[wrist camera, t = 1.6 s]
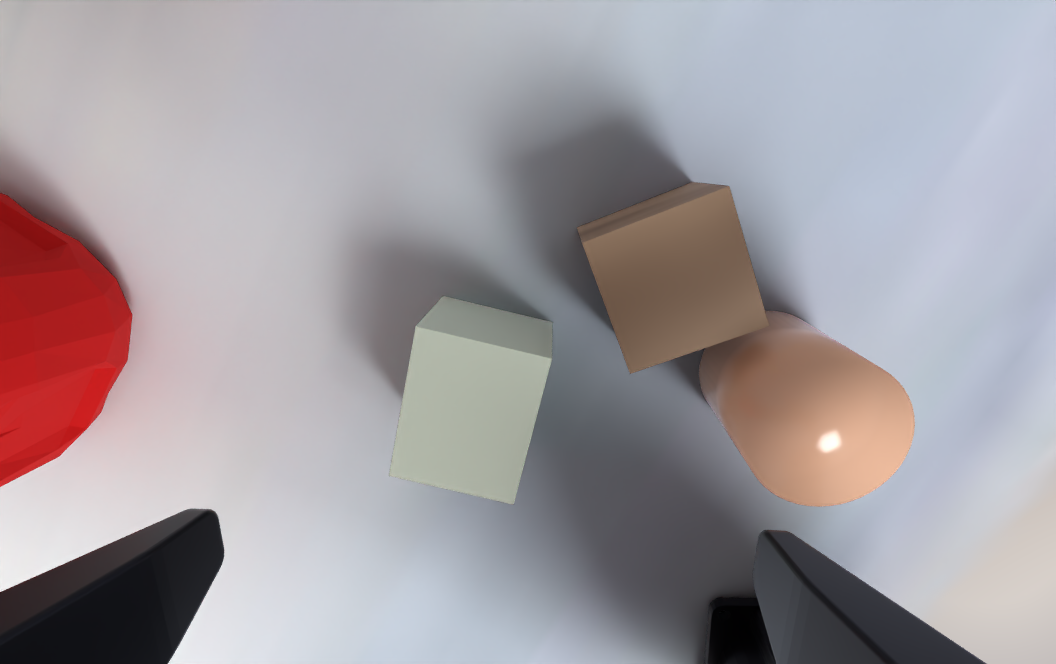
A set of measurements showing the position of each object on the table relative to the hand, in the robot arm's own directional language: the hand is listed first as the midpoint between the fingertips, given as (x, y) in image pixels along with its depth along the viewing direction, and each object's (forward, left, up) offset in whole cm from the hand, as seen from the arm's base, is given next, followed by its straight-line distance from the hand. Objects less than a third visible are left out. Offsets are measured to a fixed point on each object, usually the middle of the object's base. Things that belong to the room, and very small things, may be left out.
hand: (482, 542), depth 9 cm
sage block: (-1, +2, -11) cm, 11 cm away
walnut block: (+3, -4, -11) cm, 12 cm away
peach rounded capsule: (-1, -8, -11) cm, 14 cm away
